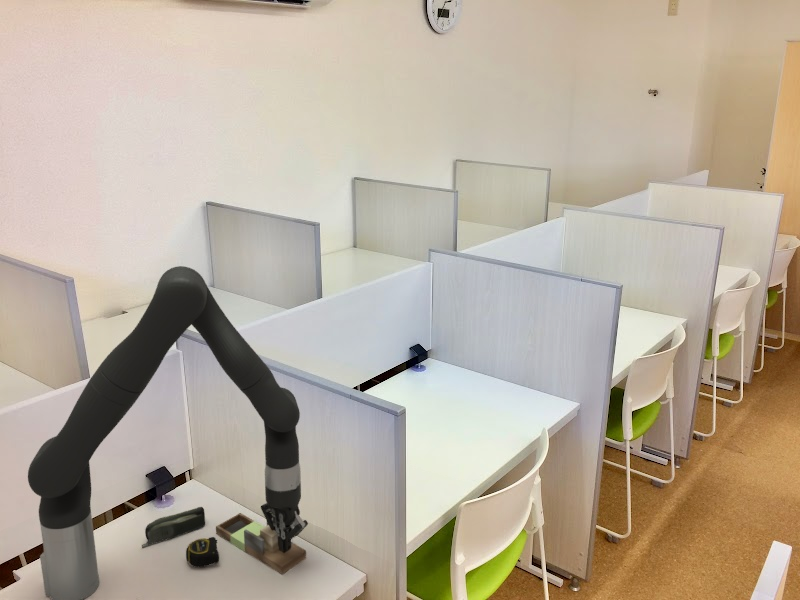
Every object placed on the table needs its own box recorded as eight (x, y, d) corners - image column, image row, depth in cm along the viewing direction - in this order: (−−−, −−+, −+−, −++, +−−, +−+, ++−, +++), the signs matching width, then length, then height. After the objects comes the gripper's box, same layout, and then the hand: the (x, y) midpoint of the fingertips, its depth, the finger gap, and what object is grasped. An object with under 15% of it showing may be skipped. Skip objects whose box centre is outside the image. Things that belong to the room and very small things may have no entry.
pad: (269, 536, 159) (268, 529, 158) (244, 551, 153) (244, 544, 153) (254, 528, 162) (254, 521, 161) (230, 542, 156) (230, 535, 156)
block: (286, 544, 153) (285, 528, 152) (272, 552, 150) (271, 537, 149) (274, 537, 155) (273, 521, 154) (260, 545, 152) (259, 529, 151)
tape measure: (219, 567, 148) (219, 552, 147) (186, 573, 146) (185, 558, 145) (217, 548, 154) (217, 534, 153) (186, 553, 152) (185, 539, 151)
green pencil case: (201, 503, 163) (137, 524, 154) (206, 509, 161) (142, 530, 152) (202, 521, 164) (138, 543, 155) (207, 527, 162) (143, 550, 153)
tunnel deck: (306, 558, 152) (305, 536, 150) (282, 574, 146) (281, 552, 145) (240, 520, 165) (239, 500, 163) (216, 533, 159) (215, 513, 158)
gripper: (248, 476, 146) (251, 546, 150) (291, 498, 138) (293, 571, 143) (275, 463, 151) (277, 530, 156) (317, 483, 144) (318, 554, 148)
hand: (284, 549), depth 149 cm, fingers closed
